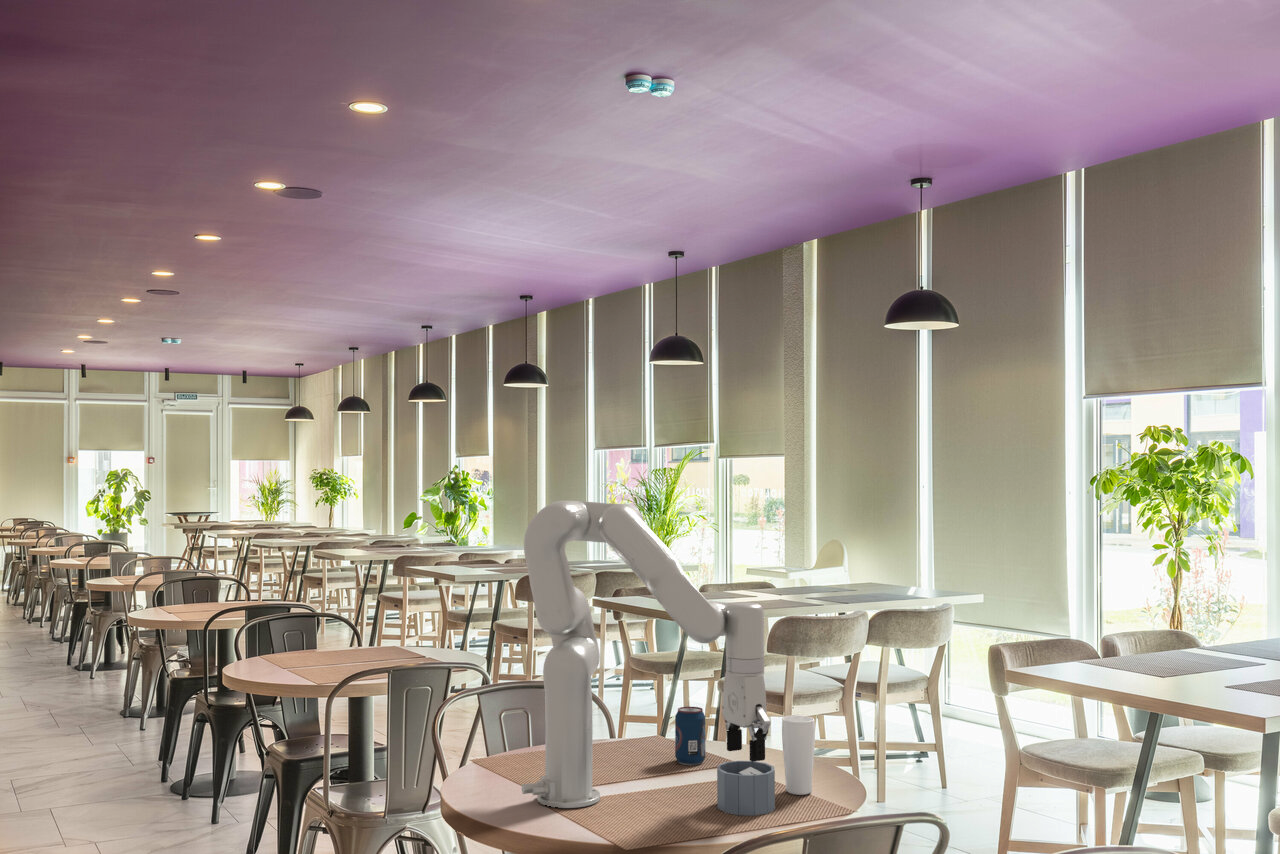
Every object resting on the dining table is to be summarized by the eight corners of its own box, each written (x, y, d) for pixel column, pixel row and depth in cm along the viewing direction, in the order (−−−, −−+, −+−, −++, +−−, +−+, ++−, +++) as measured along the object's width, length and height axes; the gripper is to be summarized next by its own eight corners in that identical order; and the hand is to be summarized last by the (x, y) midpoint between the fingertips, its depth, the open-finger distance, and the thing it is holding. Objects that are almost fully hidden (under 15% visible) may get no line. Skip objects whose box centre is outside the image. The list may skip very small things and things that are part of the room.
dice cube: (754, 807, 204) (760, 783, 204) (732, 796, 207) (738, 772, 206) (765, 801, 208) (772, 777, 208) (744, 790, 211) (750, 766, 211)
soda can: (673, 758, 245) (673, 706, 245) (702, 757, 246) (702, 705, 246) (677, 766, 238) (677, 712, 239) (707, 765, 239) (707, 711, 239)
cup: (735, 818, 200) (735, 778, 201) (707, 802, 210) (707, 764, 211) (785, 810, 205) (785, 771, 205) (755, 795, 215) (755, 758, 215)
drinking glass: (819, 790, 219) (818, 716, 220) (810, 798, 213) (809, 723, 214) (787, 786, 222) (787, 713, 223) (778, 794, 216) (777, 720, 217)
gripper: (707, 660, 215) (707, 747, 214) (751, 674, 200) (752, 768, 199) (739, 658, 219) (739, 743, 218) (785, 671, 203) (785, 763, 202)
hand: (745, 754), depth 208 cm, fingers open, 8 cm apart
